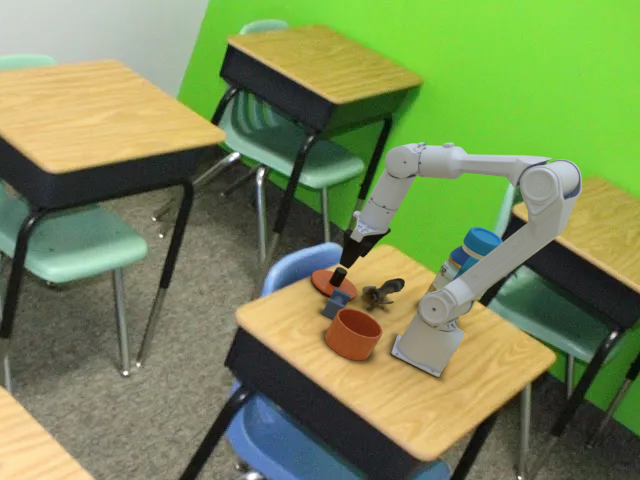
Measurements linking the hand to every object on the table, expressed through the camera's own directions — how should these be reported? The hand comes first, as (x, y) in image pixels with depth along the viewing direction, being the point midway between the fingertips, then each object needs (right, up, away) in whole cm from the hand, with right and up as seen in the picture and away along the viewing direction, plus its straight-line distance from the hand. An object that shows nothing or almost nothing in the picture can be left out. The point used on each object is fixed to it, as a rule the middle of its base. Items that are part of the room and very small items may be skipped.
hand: (352, 260), depth 184 cm
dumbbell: (-4, -10, 0) cm, 11 cm away
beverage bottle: (+21, -11, +10) cm, 25 cm away
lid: (-1, -5, +7) cm, 9 cm away
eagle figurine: (+7, -9, +7) cm, 13 cm away
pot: (-4, -16, -9) cm, 19 cm away
